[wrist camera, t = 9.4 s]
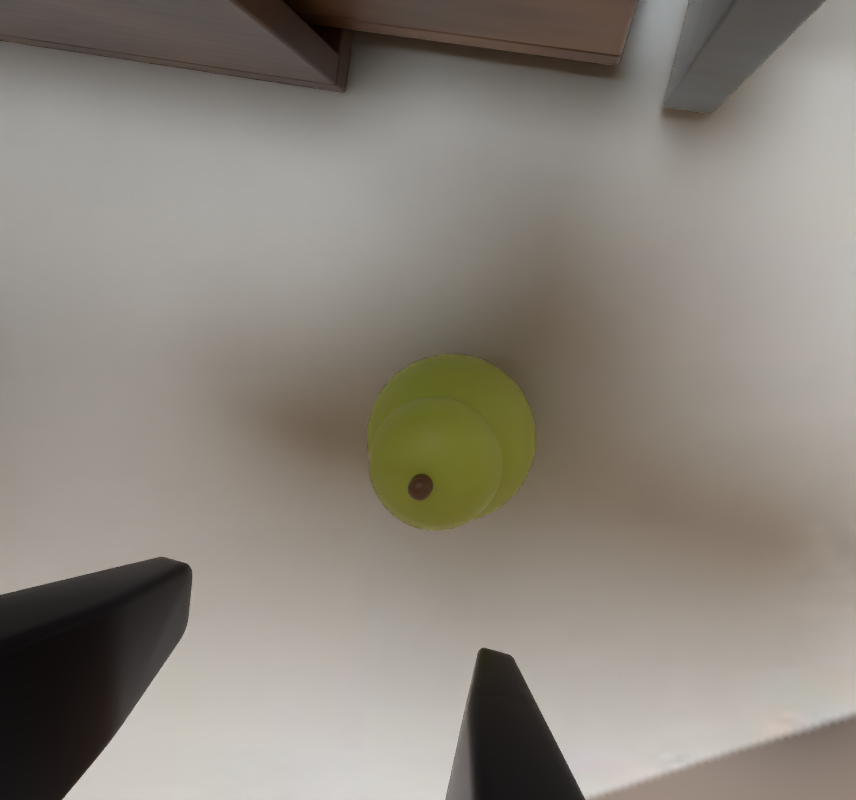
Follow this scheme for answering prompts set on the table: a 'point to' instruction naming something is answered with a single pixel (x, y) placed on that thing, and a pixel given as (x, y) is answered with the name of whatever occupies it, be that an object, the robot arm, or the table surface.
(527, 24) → the drawer
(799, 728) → the table surface
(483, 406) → the pear
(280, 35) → the cabinet
